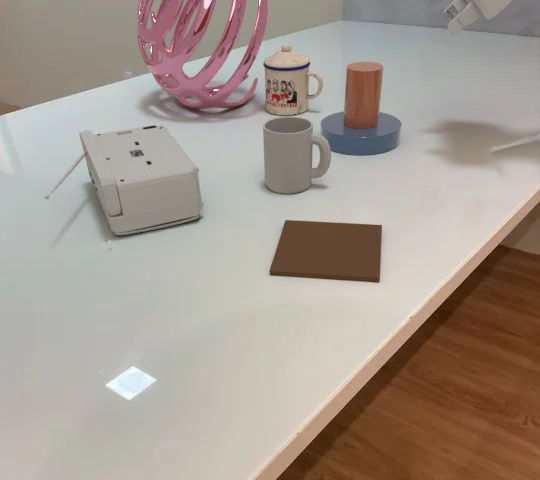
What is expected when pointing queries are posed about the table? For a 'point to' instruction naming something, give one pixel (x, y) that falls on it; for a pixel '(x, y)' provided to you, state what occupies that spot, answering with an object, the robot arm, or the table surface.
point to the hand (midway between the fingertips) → (447, 24)
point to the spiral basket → (184, 48)
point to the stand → (361, 135)
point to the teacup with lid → (288, 82)
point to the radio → (140, 178)
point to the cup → (292, 154)
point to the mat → (329, 251)
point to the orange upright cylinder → (362, 94)
